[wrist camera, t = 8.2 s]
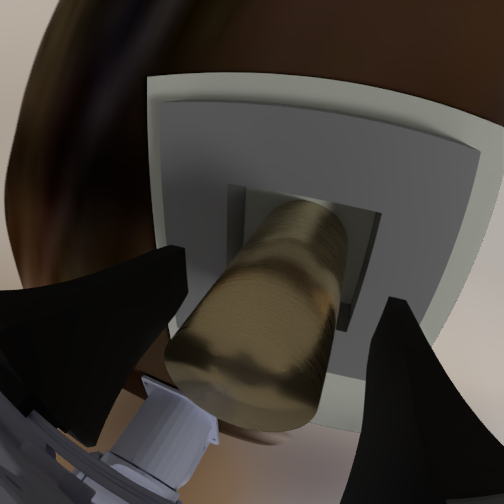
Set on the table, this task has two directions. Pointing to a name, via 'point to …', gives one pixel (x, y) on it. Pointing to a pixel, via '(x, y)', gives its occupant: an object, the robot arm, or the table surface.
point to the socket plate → (352, 218)
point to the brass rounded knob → (267, 324)
